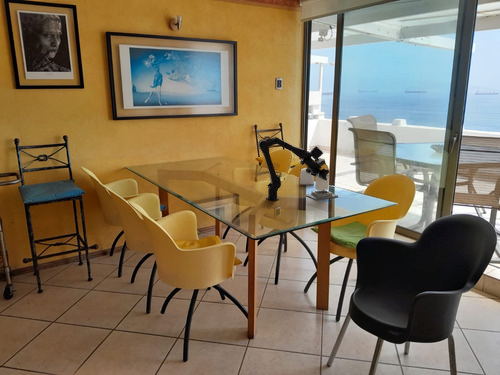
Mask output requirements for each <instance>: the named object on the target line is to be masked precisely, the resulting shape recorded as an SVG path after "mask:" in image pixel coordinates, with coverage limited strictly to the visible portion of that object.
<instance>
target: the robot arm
mask: <svg viewBox="0 0 500 375" xmlns="http://www.w3.org/2000/svg"><path fill="white" fill-rule="evenodd" d="M275 145H278V146H280V147H282V148H284V149H286V150H288V151H290V152H291V153H293V154H294V155H295V156H296V157H297V158H299V159H300V162H299V163H300V165H302V166H303V165H305V167H306V168H307V169H306V172H307V173H308V174H310V173H311V175H313V176H314V178H316V174H319V178H321V179H323V180H327V178H326V176H327V174H329V173H330V170H329V169H328V168H325V167H324V168H322V167H323V166H324V165H326V164H327V162H326V159H325V158H321V156H322V155H324V152H323V150H321V149H320V148H319V147H318V146H314V147H313V148H312V149H311V150H310V151H309V150H305V149H303V148H302V147H297V146H294V145H292V144H291V143H288V142H286V141H285V140H283V139H280V138H279V137H277V136H274V137H272V138H271V137H270V138H267V139H260V140H259V141H258V143H257V146H258V148H259V149H260V151H261V153H262V154H263V158H264V160H265V164H266V167H267V170H268V172H269V180H270V182H269V184H267V185H266V186H267V190H268V191H267V197H265V199H266V200H267V201H269V202H273V201H279V200H280V198H278V190H279V189H280V188H281V187H282V183H283V182H282V181H281V176H280V175H279V174H276V170H275V166H274V163H273V160H272V157H271V154H270V147H272V146H275Z"/></svg>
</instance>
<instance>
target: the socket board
mask: <svg viewBox="0 0 500 375" xmlns="http://www.w3.org/2000/svg"><path fill="white" fill-rule="evenodd" d="M305 197H307V198H309V199H311V200H314V201H321V200H328V199H333V198H339V195H338V194H335V193H333V192H331V191H329V190H321V191H320V190H312V191H311V193H307V194H305Z"/></svg>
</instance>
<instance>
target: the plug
mask: <svg viewBox="0 0 500 375" xmlns="http://www.w3.org/2000/svg"><path fill="white" fill-rule="evenodd" d="M326 178H327V180H323V179H321V178H319V174H316V177H315V183H314V184H315V185H314V186H315V187H314V188H315V190H316V191H319V190H320V191H321V190H326V191H329V188H330V187H329V184H330V174H329V173H328V174H327V176H326Z"/></svg>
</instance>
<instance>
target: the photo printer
mask: <svg viewBox="0 0 500 375" xmlns="http://www.w3.org/2000/svg"><path fill="white" fill-rule="evenodd" d="M306 169H307V167H304V168H301V169H300V183H299V184H300V185H314V184H315V176H313V175H311V173H310V174H308V173H307V172H306Z"/></svg>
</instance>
